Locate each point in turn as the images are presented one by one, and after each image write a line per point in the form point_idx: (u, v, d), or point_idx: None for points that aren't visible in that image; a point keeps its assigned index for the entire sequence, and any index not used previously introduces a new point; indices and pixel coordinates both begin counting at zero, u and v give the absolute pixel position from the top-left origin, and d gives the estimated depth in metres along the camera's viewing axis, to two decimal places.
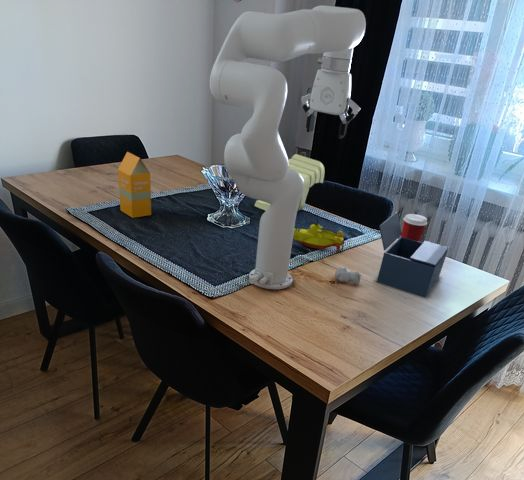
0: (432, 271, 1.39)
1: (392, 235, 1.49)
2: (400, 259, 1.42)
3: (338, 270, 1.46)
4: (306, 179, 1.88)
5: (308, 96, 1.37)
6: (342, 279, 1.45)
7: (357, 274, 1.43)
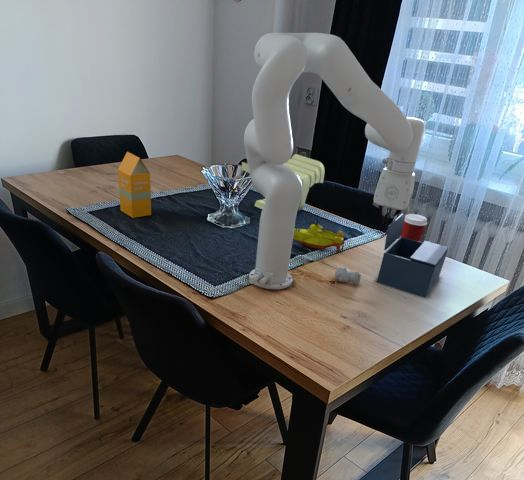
0: (432, 271, 1.39)
1: (395, 235, 1.49)
2: (400, 259, 1.42)
3: (338, 270, 1.46)
4: (306, 179, 1.88)
5: None
6: (342, 279, 1.45)
7: (357, 274, 1.43)
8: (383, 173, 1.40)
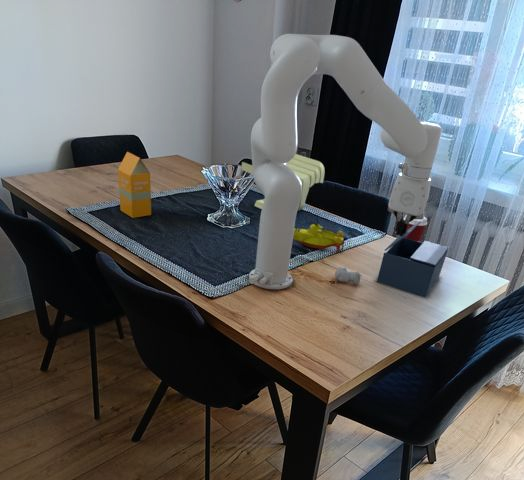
0: (432, 271, 1.39)
1: None
2: (400, 259, 1.42)
3: (338, 270, 1.46)
4: (306, 179, 1.88)
5: None
6: (342, 279, 1.45)
7: (357, 274, 1.43)
8: (399, 178, 1.38)
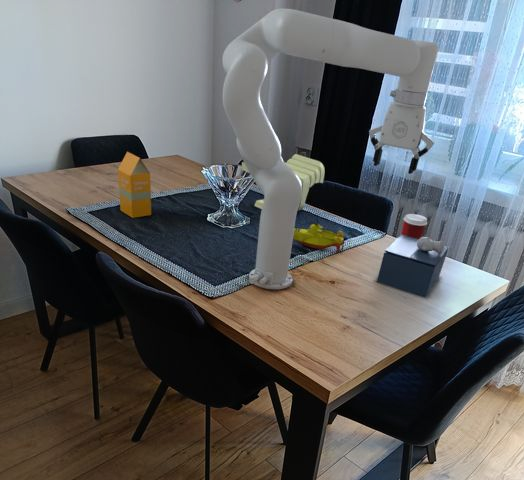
0: (432, 271, 1.39)
1: None
2: (400, 259, 1.42)
3: (421, 239, 1.45)
4: (306, 179, 1.88)
5: (377, 129, 1.31)
6: (426, 248, 1.44)
7: (442, 243, 1.42)
8: (390, 107, 1.25)
